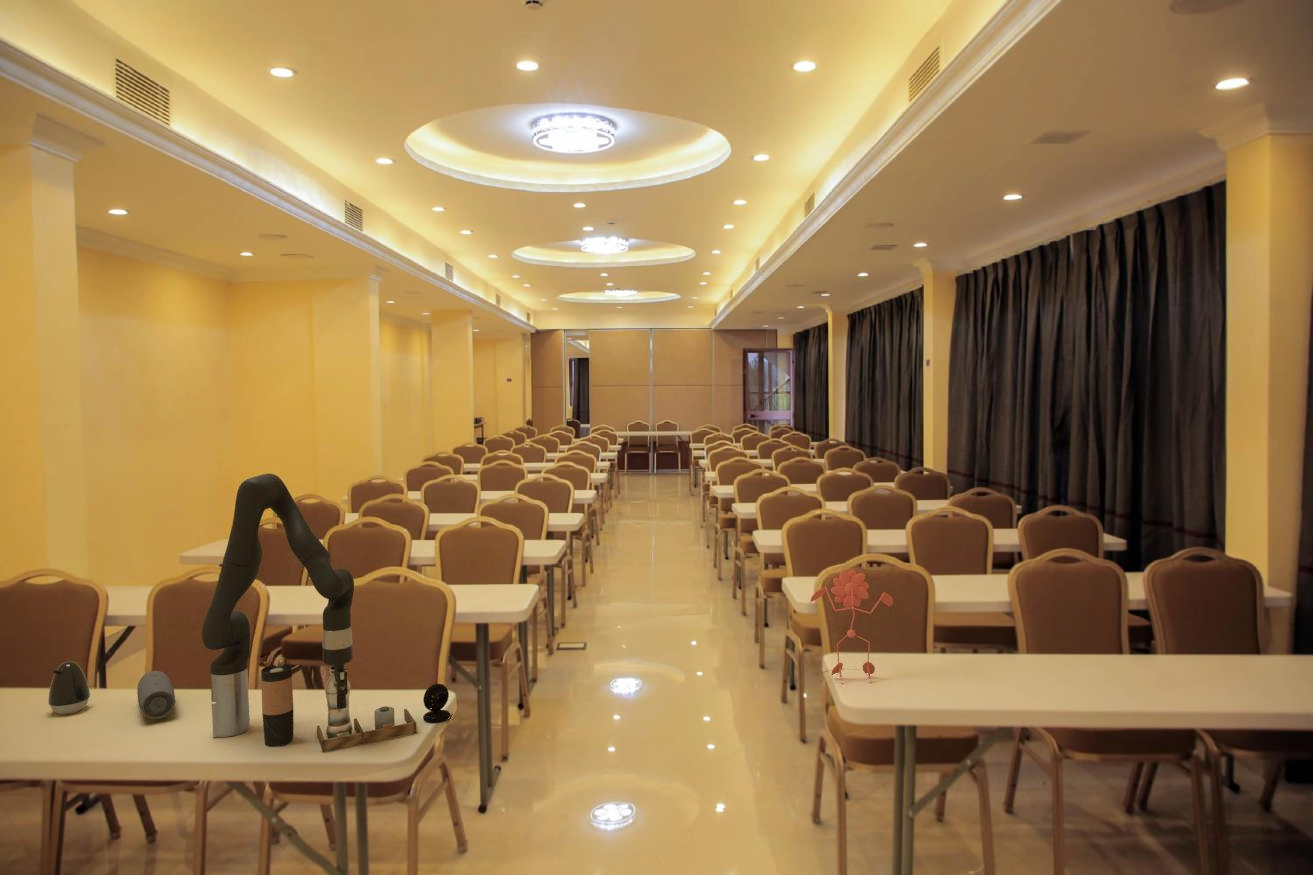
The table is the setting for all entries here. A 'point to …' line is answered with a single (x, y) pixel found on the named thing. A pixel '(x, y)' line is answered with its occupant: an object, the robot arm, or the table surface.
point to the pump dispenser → (68, 689)
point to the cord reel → (384, 716)
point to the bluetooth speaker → (155, 695)
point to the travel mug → (277, 705)
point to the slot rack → (367, 734)
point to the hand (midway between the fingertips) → (339, 703)
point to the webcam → (436, 703)
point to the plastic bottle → (337, 711)
